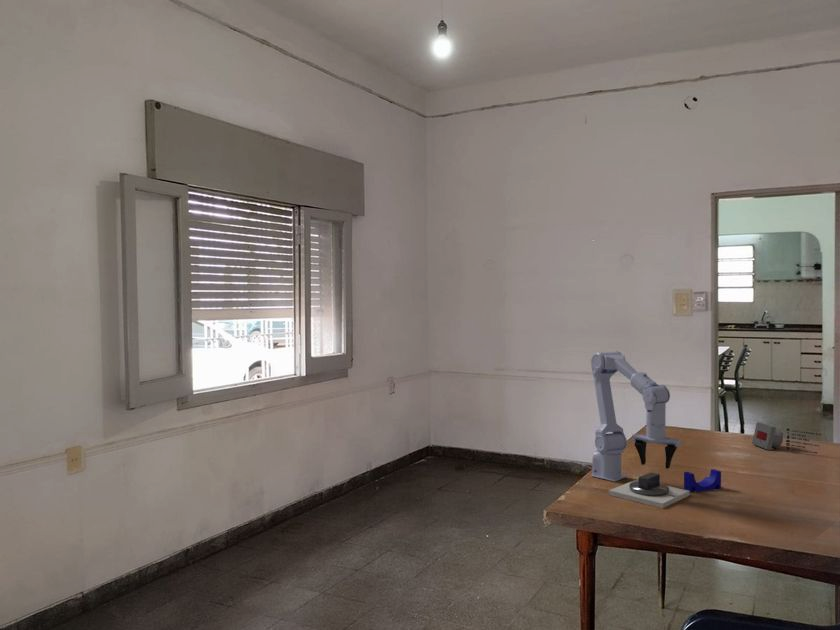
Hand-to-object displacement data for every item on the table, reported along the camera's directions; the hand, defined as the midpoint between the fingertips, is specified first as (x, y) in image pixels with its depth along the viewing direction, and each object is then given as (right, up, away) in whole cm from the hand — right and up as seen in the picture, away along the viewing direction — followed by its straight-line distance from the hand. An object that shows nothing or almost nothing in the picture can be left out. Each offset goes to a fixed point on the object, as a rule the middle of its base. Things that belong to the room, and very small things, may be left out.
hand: (655, 465), depth 206 cm
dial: (-2, -8, 0) cm, 8 cm away
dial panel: (-2, -9, 0) cm, 10 cm away
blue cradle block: (+18, -10, +7) cm, 21 cm away
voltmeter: (+74, -8, +57) cm, 93 cm away
